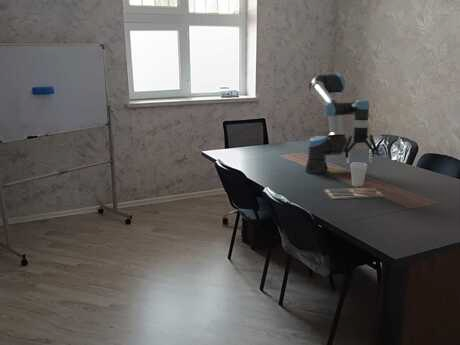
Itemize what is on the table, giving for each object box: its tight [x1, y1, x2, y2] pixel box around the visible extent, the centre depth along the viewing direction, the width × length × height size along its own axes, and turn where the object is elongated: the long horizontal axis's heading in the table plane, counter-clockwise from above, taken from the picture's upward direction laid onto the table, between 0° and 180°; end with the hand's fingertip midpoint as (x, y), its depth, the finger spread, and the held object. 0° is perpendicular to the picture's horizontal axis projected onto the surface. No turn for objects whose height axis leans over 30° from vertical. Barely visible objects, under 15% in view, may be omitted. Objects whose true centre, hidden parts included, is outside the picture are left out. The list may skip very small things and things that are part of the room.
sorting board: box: [323, 186, 384, 200], centre depth 245 cm, size 15×29×1 cm, turn 94°
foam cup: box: [349, 161, 368, 187], centre depth 259 cm, size 10×9×13 cm
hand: (359, 162), depth 257 cm, fingers open, 13 cm apart
